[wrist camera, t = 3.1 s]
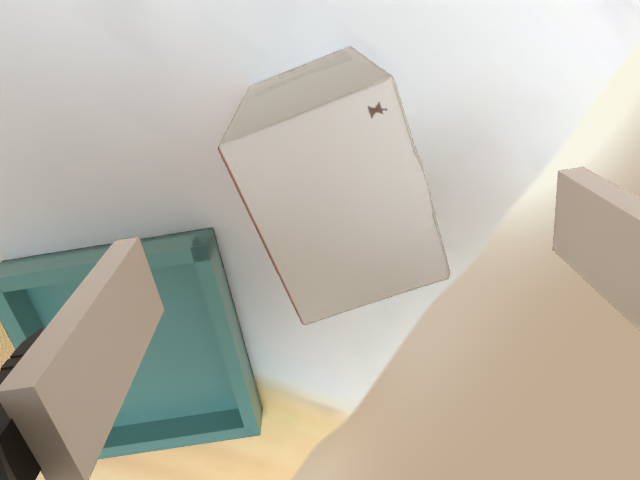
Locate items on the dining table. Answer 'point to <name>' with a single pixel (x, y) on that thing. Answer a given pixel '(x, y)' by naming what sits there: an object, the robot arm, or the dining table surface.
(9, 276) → the tray
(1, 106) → the dining table surface
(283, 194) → the small box
